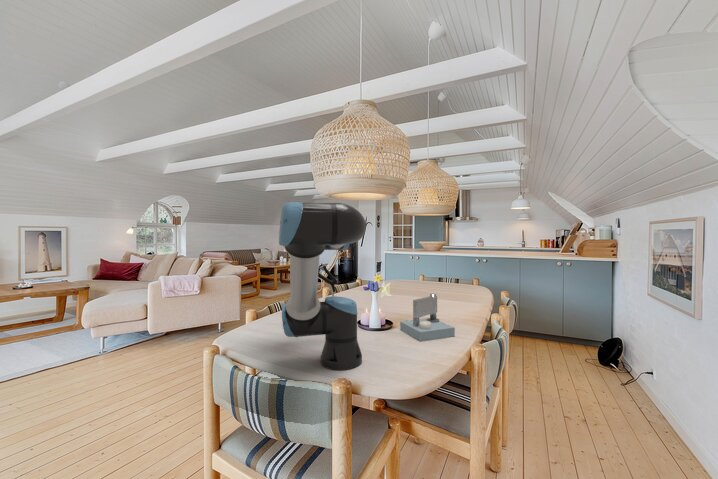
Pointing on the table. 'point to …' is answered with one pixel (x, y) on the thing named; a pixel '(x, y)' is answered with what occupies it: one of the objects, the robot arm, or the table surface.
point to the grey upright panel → (424, 308)
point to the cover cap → (425, 324)
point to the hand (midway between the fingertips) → (319, 303)
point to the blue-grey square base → (427, 330)
